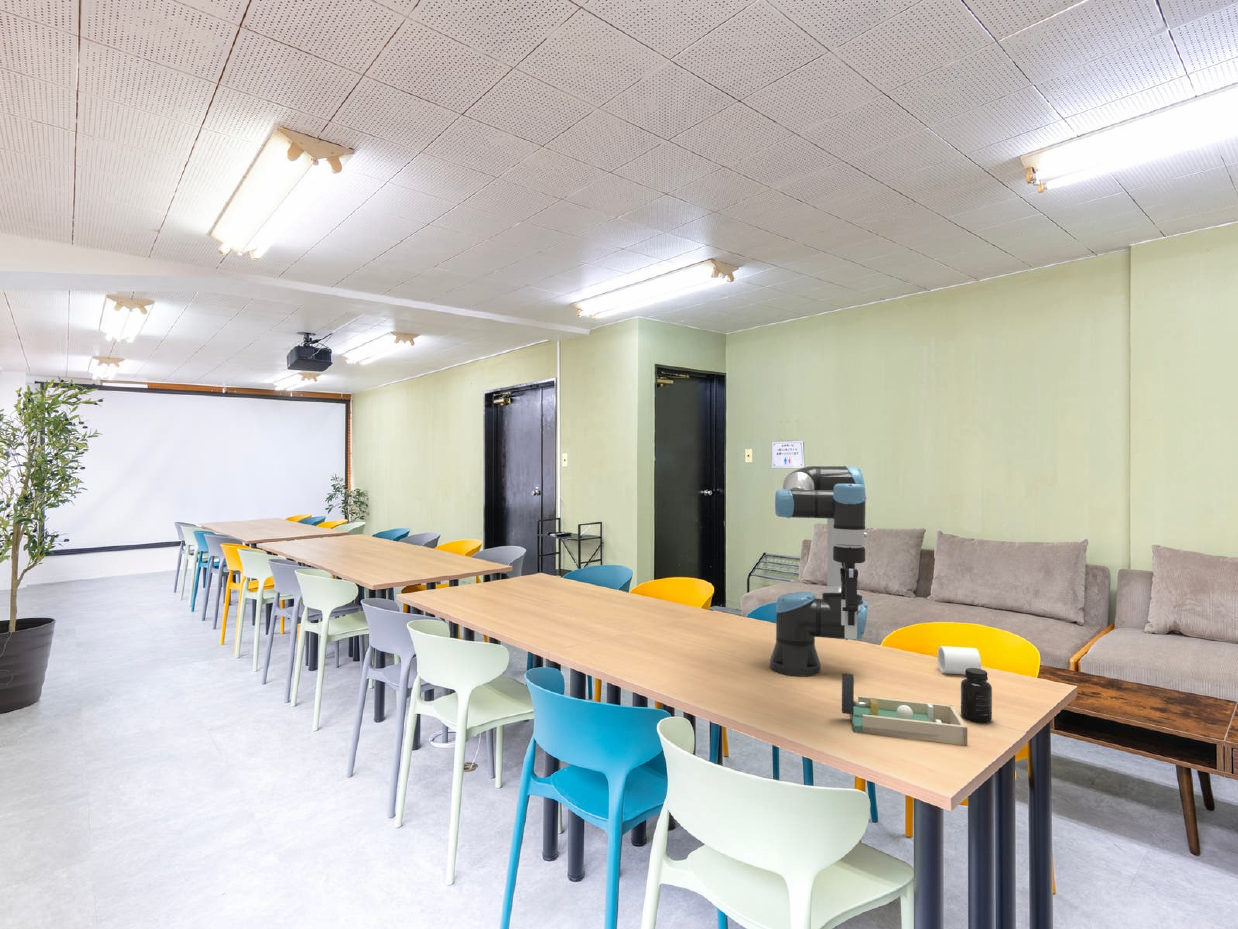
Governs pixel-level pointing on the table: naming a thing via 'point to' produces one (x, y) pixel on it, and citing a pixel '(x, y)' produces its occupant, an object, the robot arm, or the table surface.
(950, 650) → the mug
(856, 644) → the table surface
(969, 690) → the supplement bottle
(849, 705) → the uneven dumbbell
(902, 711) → the ball
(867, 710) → the pitch
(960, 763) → the table surface
